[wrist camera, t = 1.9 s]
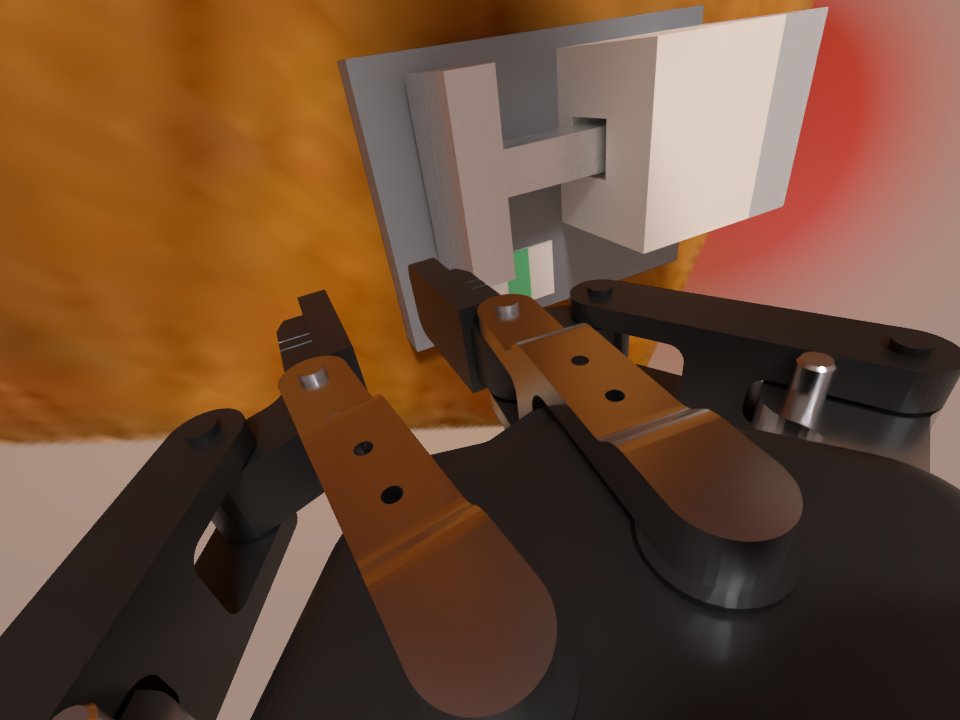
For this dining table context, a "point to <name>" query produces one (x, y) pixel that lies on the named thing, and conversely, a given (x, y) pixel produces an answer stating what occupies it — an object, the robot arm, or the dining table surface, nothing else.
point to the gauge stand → (629, 139)
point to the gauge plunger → (486, 165)
